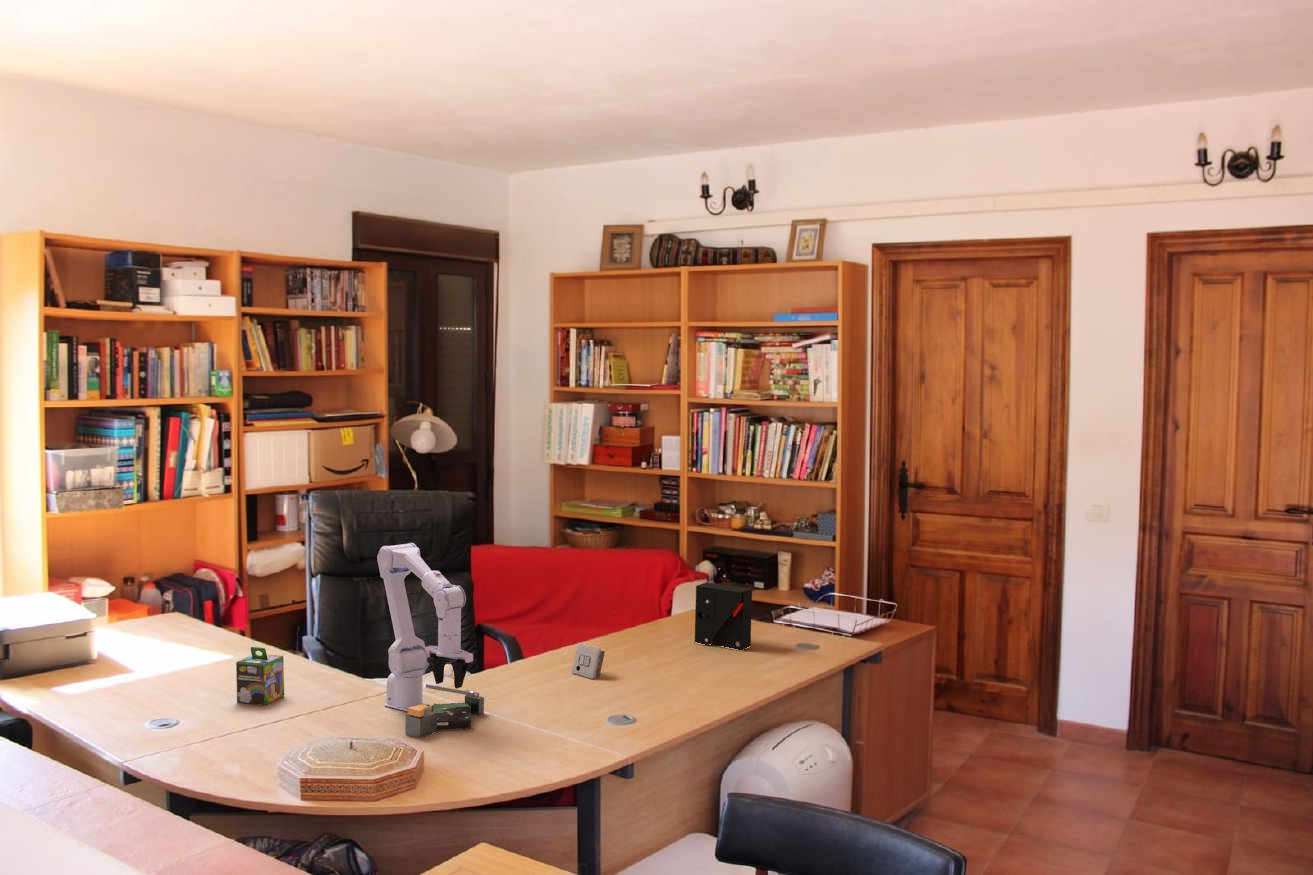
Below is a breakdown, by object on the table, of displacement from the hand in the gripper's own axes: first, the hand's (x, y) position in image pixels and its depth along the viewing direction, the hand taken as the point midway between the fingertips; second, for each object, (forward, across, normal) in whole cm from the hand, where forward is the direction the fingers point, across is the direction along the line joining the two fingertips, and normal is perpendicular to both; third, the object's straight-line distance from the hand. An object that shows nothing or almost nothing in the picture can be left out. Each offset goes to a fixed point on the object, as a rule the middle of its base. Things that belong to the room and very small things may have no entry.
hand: (448, 685), depth 277 cm
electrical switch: (+10, +4, +57) cm, 58 cm away
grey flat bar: (+2, 0, +1) cm, 3 cm away
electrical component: (+10, +21, +113) cm, 115 cm away
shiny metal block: (+10, 0, -1) cm, 10 cm away
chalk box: (+10, -55, -15) cm, 58 cm away
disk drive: (+10, 0, +1) cm, 10 cm away
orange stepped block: (+5, 0, -11) cm, 12 cm away
